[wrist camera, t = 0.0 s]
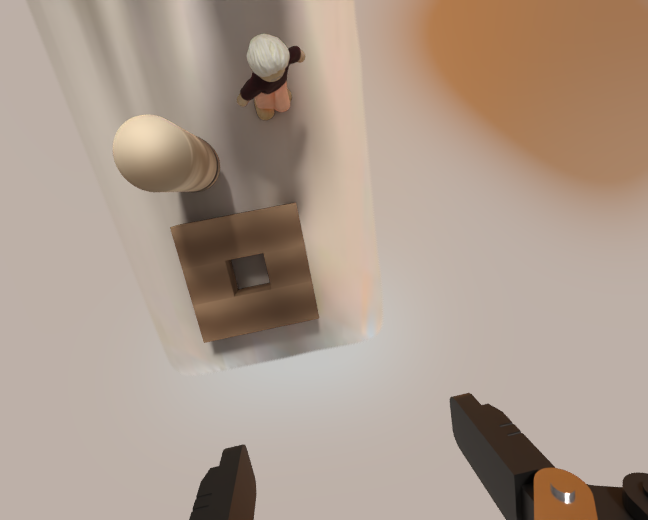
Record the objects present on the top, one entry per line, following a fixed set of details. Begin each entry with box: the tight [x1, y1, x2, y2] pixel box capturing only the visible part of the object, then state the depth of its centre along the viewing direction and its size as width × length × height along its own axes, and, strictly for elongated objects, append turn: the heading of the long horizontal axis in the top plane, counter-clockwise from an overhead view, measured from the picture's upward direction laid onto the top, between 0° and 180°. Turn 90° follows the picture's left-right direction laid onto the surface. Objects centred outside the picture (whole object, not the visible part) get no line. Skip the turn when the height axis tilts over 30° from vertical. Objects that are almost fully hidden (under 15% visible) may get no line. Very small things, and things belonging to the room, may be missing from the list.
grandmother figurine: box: [237, 34, 305, 120], centre depth 30 cm, size 8×4×13 cm, turn 137°
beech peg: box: [113, 115, 220, 192], centre depth 31 cm, size 6×6×13 cm
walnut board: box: [170, 202, 319, 343], centre depth 39 cm, size 14×14×3 cm
